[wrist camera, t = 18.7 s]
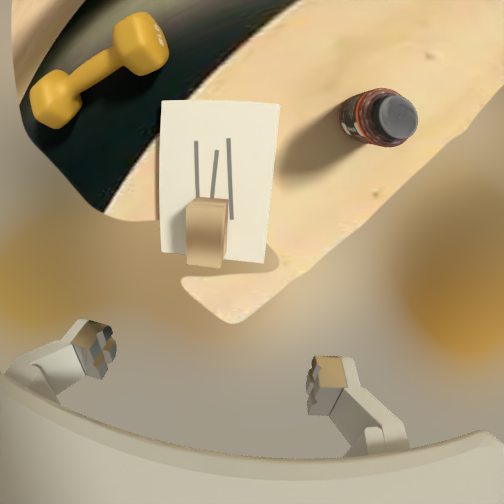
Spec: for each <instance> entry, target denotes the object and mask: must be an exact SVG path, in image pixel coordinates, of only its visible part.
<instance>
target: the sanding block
mask: <svg viewBox="0 0 504 504" xmlns="http://www.w3.org/2000/svg"><path fill="white" fill-rule="evenodd" d="M228 203H229V199H219V198H206V197H196V198H195V199H194V200H193V201H192V202H191V203H190V204H189V205H188V206H187V207H186V255H187V265H195V266H204V267H213V268H220V267H221V264H222V262H223V259H224V256H225V254H226V244H227V223H228Z"/></svg>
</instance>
